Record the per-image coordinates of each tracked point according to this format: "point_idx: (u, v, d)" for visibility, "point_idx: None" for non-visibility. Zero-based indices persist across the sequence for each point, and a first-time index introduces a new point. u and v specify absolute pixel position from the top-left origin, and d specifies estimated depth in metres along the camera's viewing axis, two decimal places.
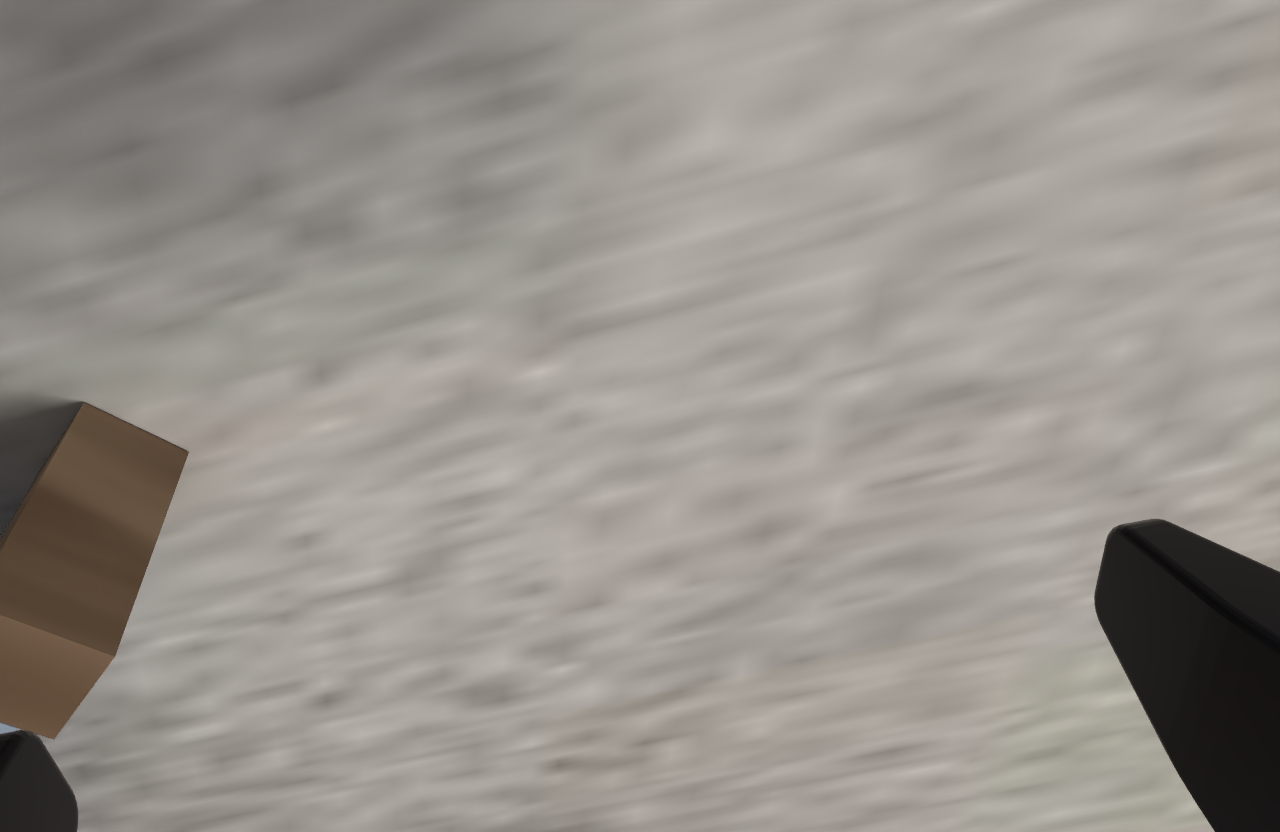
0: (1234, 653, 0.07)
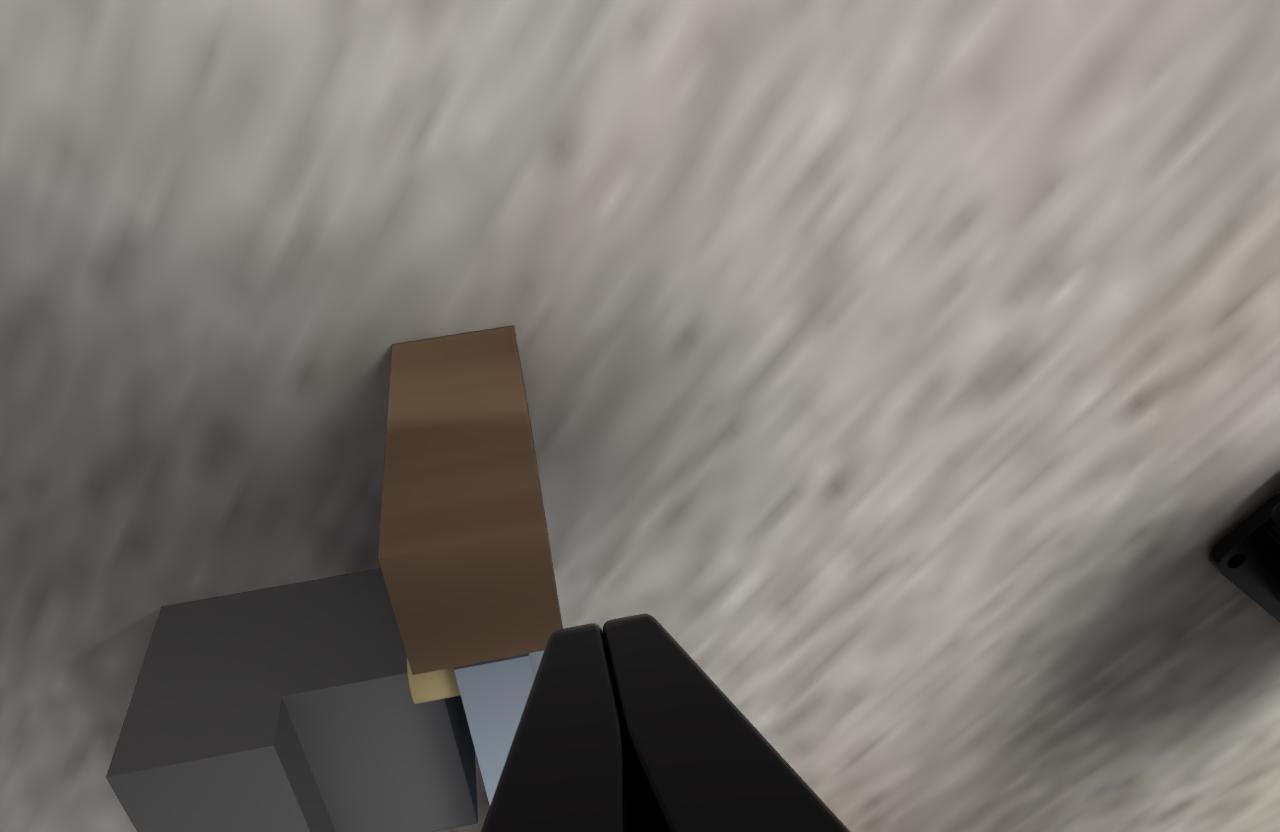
0: (635, 774, 0.07)
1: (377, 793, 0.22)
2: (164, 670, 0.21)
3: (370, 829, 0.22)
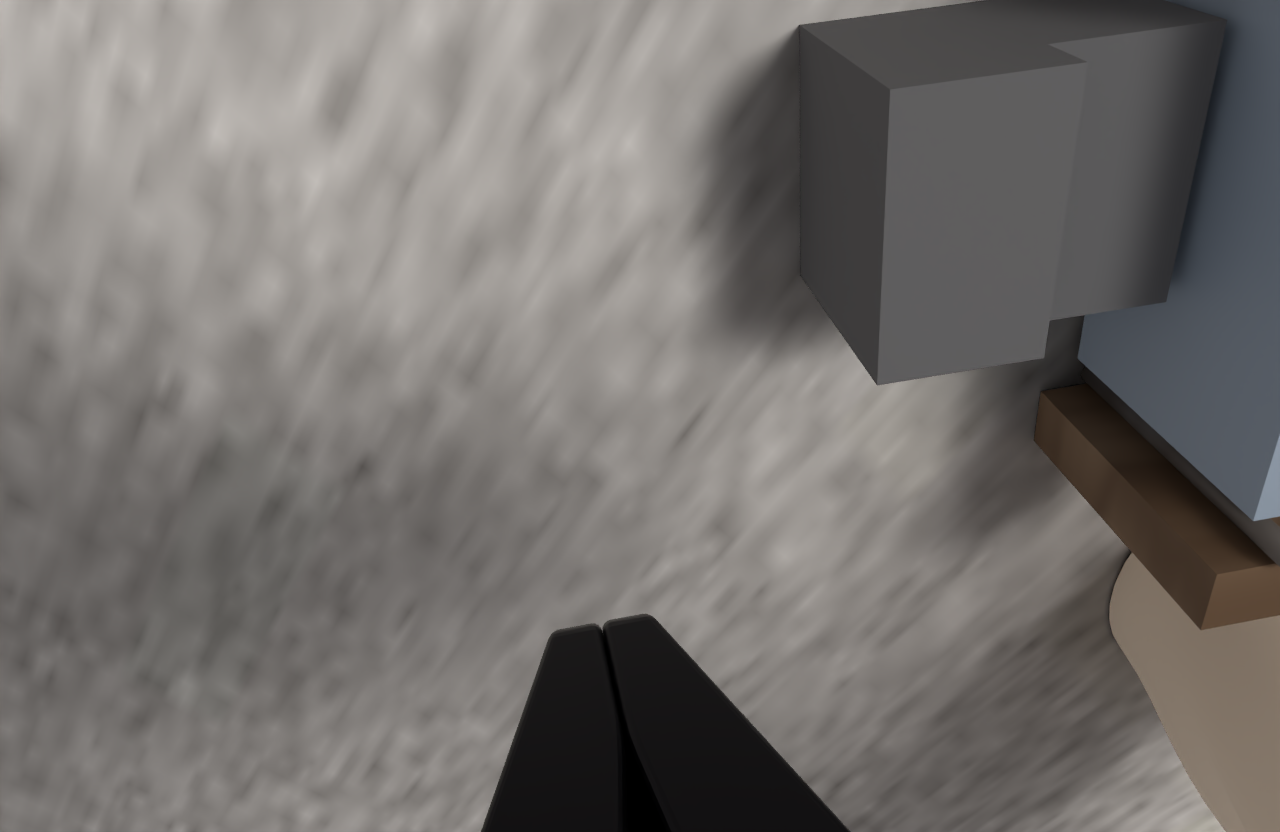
0: (635, 774, 0.07)
1: (1082, 233, 0.18)
2: (863, 46, 0.17)
3: (1052, 296, 0.18)
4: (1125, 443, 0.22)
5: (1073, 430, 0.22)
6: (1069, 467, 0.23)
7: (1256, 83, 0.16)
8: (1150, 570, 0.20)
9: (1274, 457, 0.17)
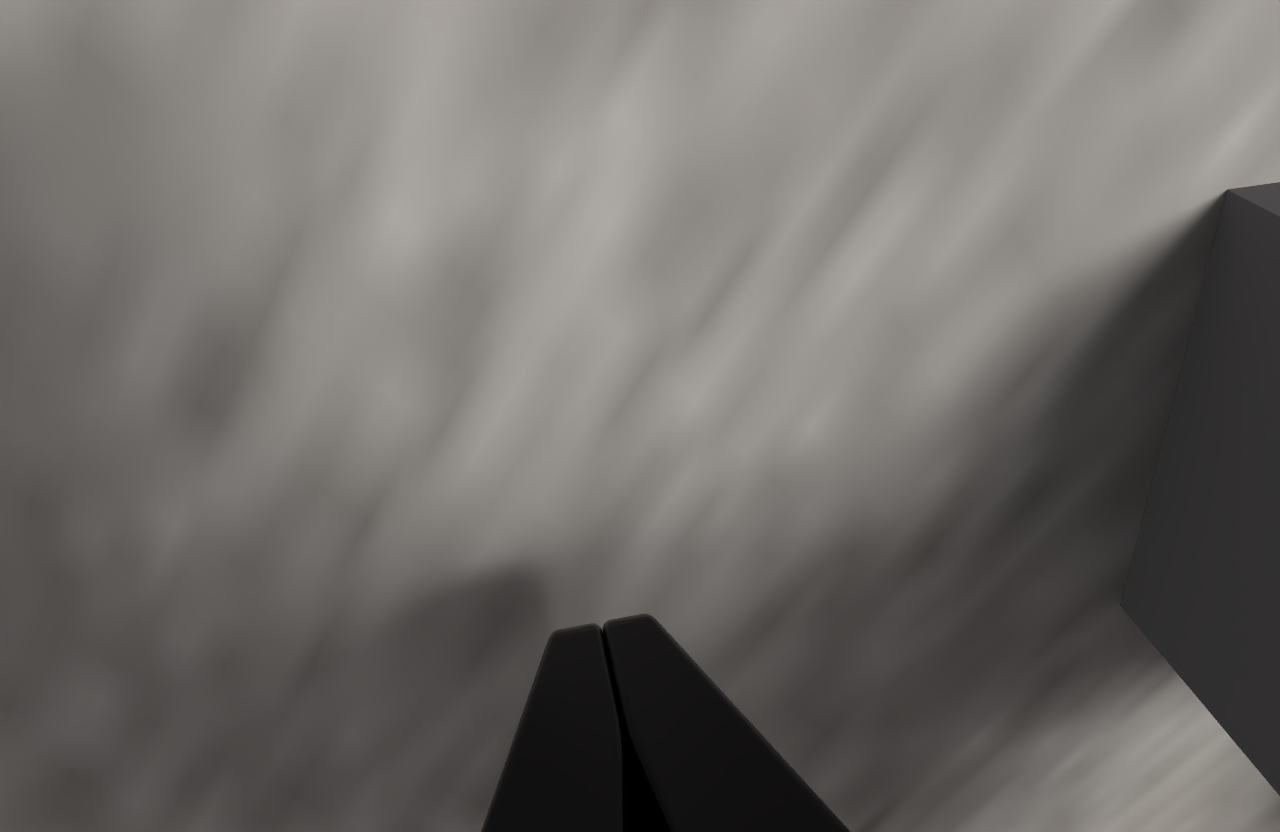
0: (635, 774, 0.07)
1: None
2: None
3: None
4: None
5: None
6: None
7: None
8: None
9: None
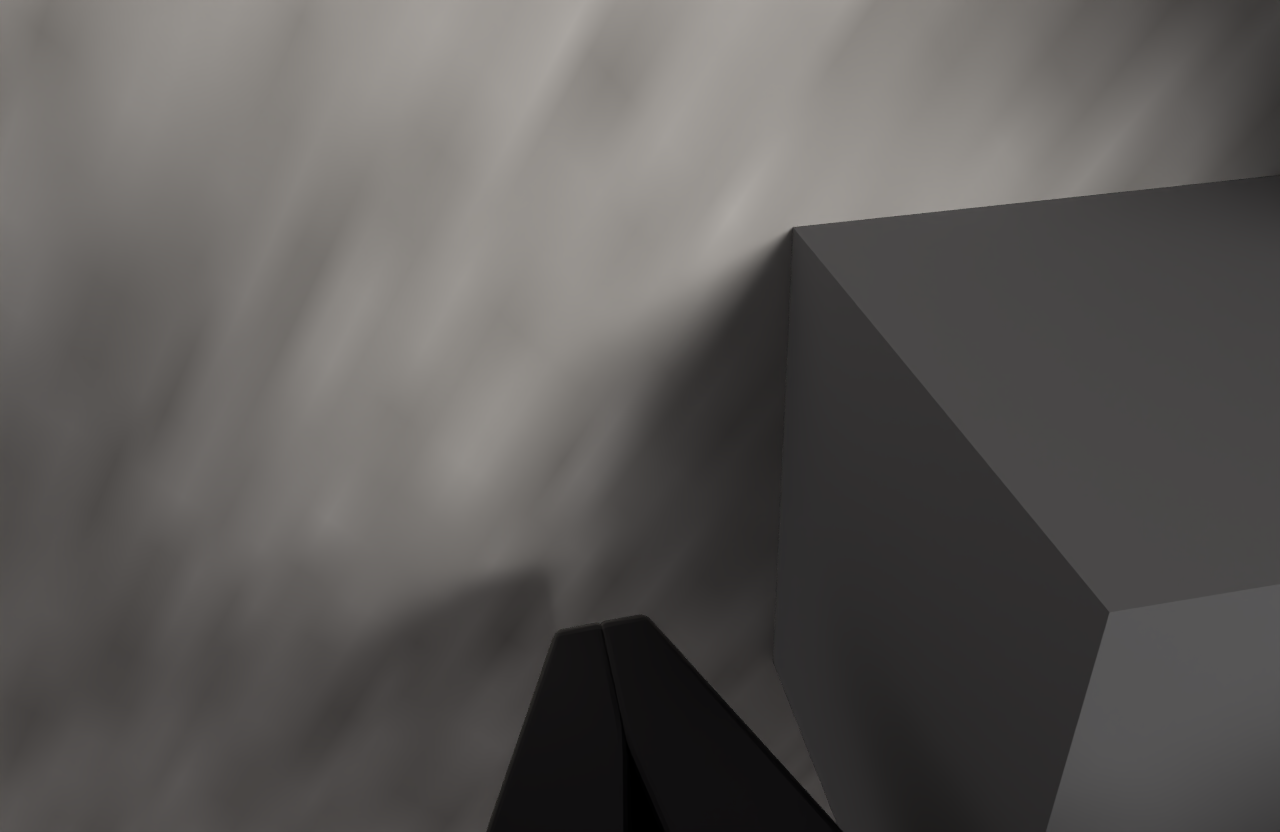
0: None
1: None
2: (961, 335, 0.07)
3: None
4: None
5: None
6: None
7: None
8: None
9: None
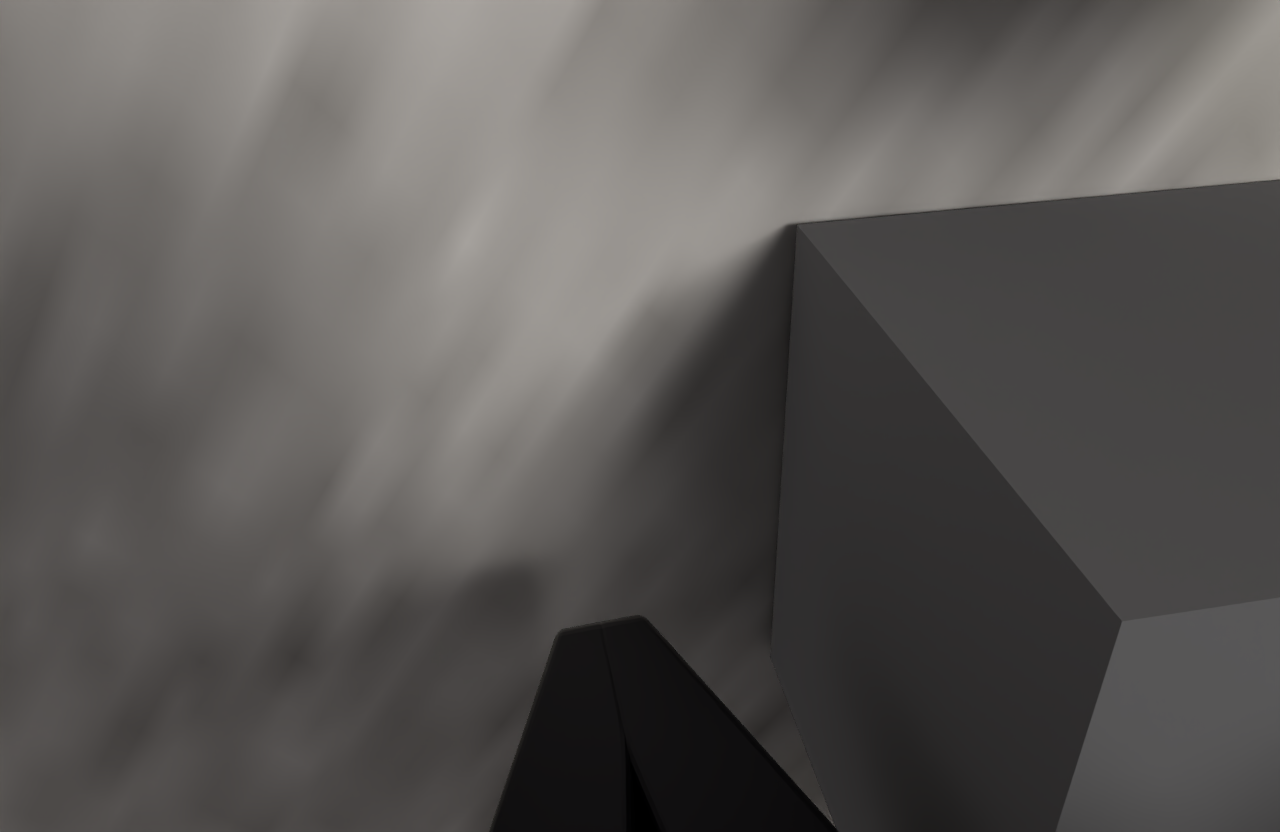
0: None
1: None
2: (971, 340, 0.07)
3: None
4: None
5: None
6: None
7: None
8: None
9: None
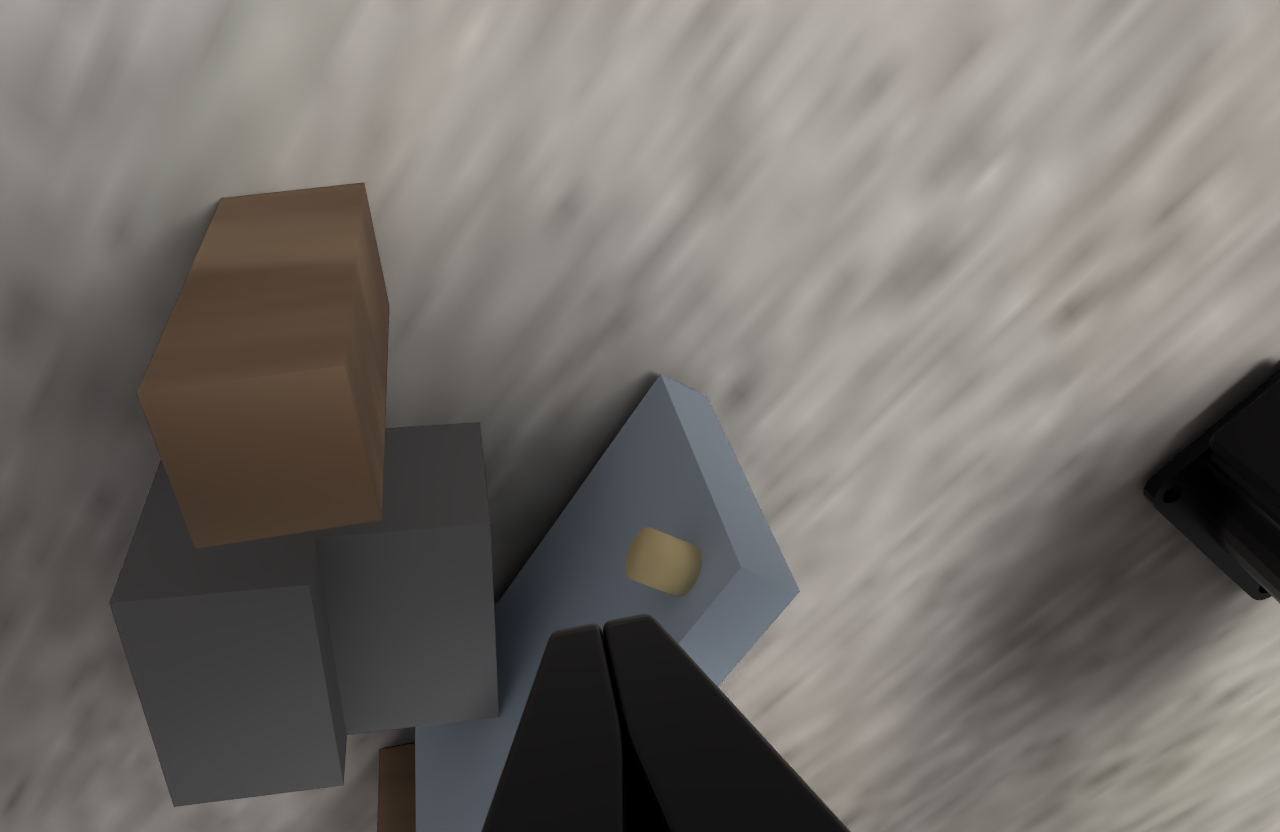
0: (635, 774, 0.07)
1: (397, 669, 0.19)
2: (174, 503, 0.18)
3: (381, 713, 0.20)
4: (406, 828, 0.23)
5: (378, 804, 0.24)
6: None
7: (589, 623, 0.19)
8: None
9: None
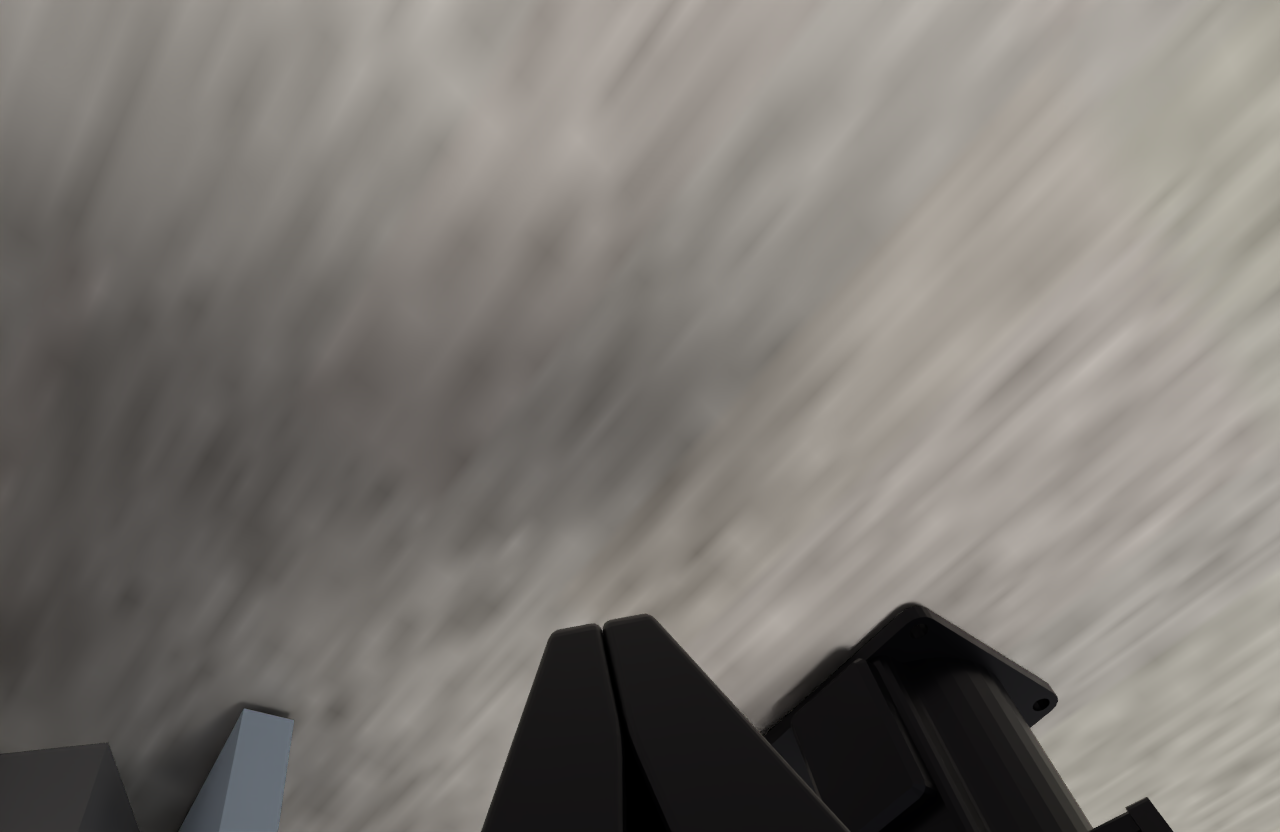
0: (634, 775, 0.07)
1: None
2: None
3: None
4: None
5: None
6: None
7: None
8: None
9: None
